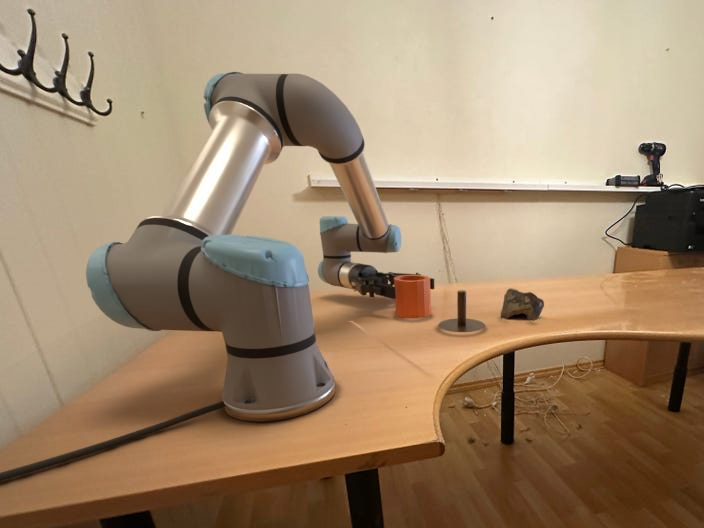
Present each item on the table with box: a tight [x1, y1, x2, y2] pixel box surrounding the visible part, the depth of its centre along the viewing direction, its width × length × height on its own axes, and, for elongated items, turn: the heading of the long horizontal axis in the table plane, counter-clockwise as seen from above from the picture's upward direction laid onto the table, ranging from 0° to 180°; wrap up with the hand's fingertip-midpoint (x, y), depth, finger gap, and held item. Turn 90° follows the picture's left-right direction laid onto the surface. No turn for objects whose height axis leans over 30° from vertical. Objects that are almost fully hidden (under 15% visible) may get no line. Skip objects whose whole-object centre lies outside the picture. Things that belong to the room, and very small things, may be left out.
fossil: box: [500, 288, 545, 321], centre depth 102 cm, size 11×9×10 cm
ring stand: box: [438, 289, 486, 333], centre depth 93 cm, size 11×11×9 cm
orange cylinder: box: [393, 274, 432, 319], centre depth 101 cm, size 9×9×10 cm
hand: (414, 288), depth 100 cm, fingers open, 13 cm apart
